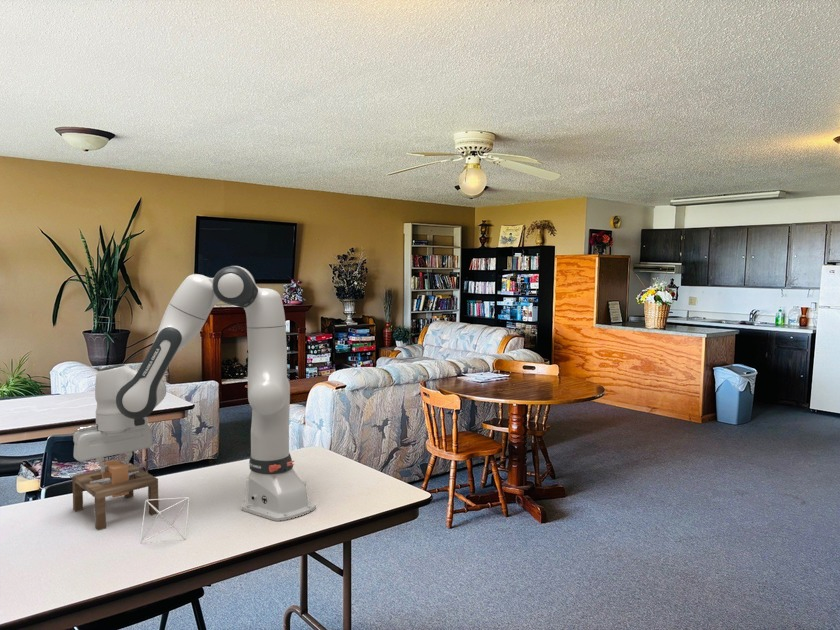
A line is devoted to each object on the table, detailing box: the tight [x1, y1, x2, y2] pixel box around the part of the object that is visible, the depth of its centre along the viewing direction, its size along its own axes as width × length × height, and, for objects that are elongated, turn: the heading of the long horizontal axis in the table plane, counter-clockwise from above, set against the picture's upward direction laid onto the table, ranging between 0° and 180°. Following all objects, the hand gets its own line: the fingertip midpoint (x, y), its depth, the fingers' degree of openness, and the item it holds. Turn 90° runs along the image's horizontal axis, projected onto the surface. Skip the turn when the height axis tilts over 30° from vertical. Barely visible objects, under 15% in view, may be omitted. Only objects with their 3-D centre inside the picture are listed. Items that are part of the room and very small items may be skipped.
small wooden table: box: [71, 462, 160, 531], centre depth 170 cm, size 20×16×10 cm
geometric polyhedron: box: [139, 496, 190, 544], centre depth 155 cm, size 12×11×9 cm
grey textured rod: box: [90, 471, 139, 485], centre depth 170 cm, size 2×13×2 cm, turn 136°
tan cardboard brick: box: [102, 458, 129, 498], centre depth 170 cm, size 9×4×8 cm, turn 47°
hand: (114, 469), depth 170 cm, fingers closed on tan cardboard brick, 4 cm apart
